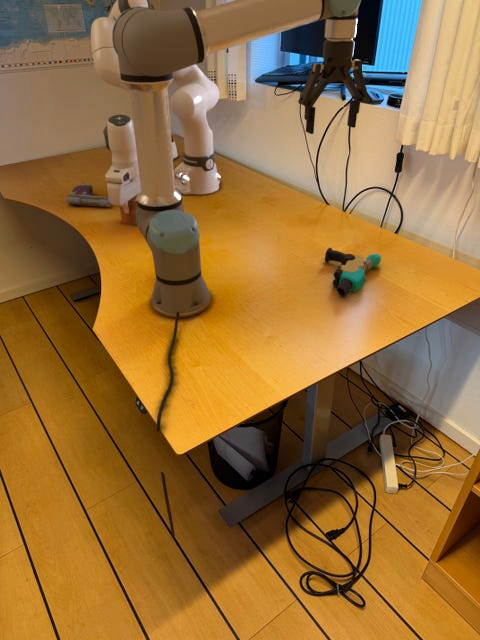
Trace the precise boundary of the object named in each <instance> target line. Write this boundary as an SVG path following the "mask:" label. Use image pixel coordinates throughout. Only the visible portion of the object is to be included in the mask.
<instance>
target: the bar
mask: <svg viewBox="0 0 480 640" xmlns="http://www.w3.org/2000/svg"><path fill="white" fill-rule="evenodd" d="M136 197H137V195H136V196H135V197H133V198H132V199H130V200H129V201H128V204H127V205H128V207H130V210H131V212H130V213H128V214H127V213H124V208H123V207H122V206H119V211H120V218H121V223H122V224H126V225H131V226H137V222H136V211H137V200H136ZM182 206H183V213H185V204H184V201H183V200H182Z"/></svg>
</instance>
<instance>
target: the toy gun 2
mask: <svg viewBox="0 0 480 640" xmlns="http://www.w3.org/2000/svg"><path fill="white" fill-rule="evenodd" d="M330 261H332V262H337V263H340V267H339V268H337V269H336V270H335V272H334V273H333V277H334V279H333V280H332V285H333V286H334V287H336V292H337V294H338V295H339V297H341V298H344V299H345V298H346V297H347V295H348V294H350V293H351V291H353V292H357V291H359V290H360V289H361V288H362V287H363V286H364V284H365V282H366V274H365V273H366V272H367V271H369V270H370V269H372V268H377V266H379V265H380V263H381V261H382V255H381V254H379V253H370V254H368V256H366V259H364V257H363V256H361V255H359V254H353V253H352V254H351V253H344V252H342V251H338V250H335V249H333V248H332V247H328V248H327V249H326V251H325V255H324V262H325V263H329V262H330Z"/></svg>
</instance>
